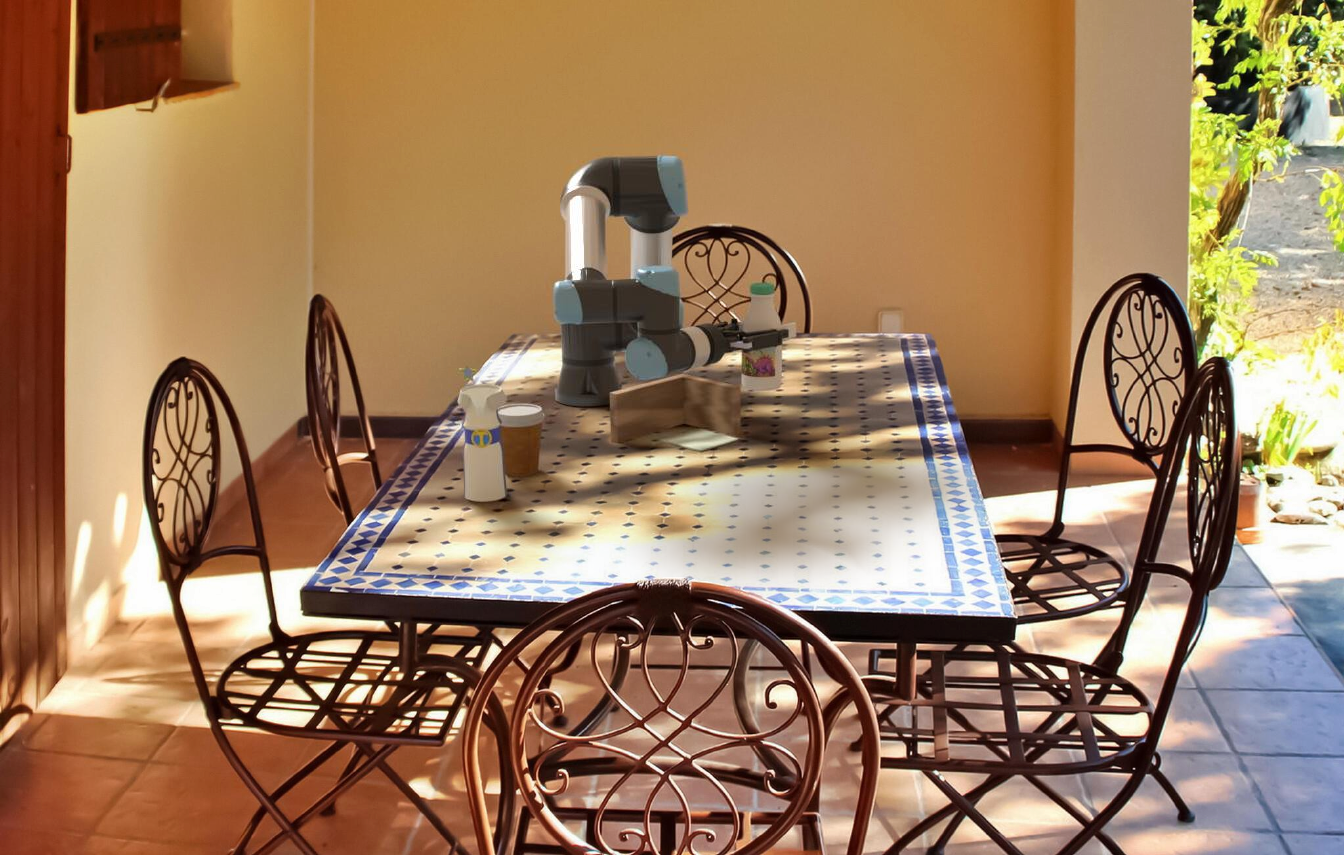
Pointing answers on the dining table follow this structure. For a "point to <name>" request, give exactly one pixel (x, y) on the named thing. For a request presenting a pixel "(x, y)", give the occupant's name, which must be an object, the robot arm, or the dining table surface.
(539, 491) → the dining table surface
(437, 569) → the dining table surface
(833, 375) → the dining table surface
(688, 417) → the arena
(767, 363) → the milk bottle
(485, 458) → the white tall bottle shape
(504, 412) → the disposable coffee cup
